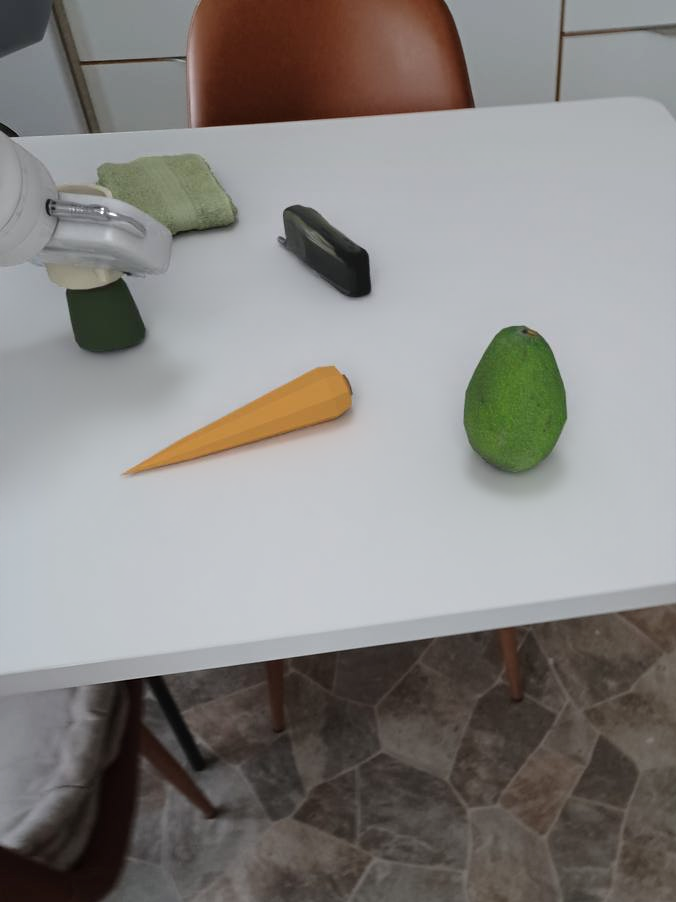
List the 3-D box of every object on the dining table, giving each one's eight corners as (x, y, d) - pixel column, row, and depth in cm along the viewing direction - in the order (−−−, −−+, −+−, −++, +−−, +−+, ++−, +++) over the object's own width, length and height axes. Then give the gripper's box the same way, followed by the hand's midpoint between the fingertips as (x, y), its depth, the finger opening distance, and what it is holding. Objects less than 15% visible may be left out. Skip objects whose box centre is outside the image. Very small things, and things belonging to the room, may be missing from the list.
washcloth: (204, 166, 115) (198, 138, 113) (245, 228, 105) (239, 198, 102) (93, 186, 112) (85, 157, 109) (123, 252, 101) (115, 221, 99)
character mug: (171, 356, 88) (133, 214, 78) (94, 380, 85) (45, 236, 75) (129, 305, 94) (89, 167, 84) (56, 326, 91) (6, 186, 81)
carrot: (348, 405, 84) (330, 355, 82) (365, 414, 80) (347, 362, 78) (128, 494, 79) (103, 443, 77) (135, 508, 75) (109, 455, 73)
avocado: (534, 504, 74) (542, 368, 65) (446, 472, 77) (443, 337, 68) (578, 449, 79) (591, 315, 70) (494, 421, 81) (497, 288, 72)
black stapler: (374, 247, 92) (290, 190, 99) (348, 256, 91) (265, 198, 98) (377, 295, 96) (296, 236, 103) (352, 304, 94) (271, 245, 102)
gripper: (128, 168, 69) (208, 238, 83) (-126, 143, 72) (-8, 216, 86) (117, 256, 70) (199, 312, 83) (-135, 229, 72) (-16, 287, 86)
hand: (92, 263), depth 84 cm, fingers closed on character mug, 7 cm apart
